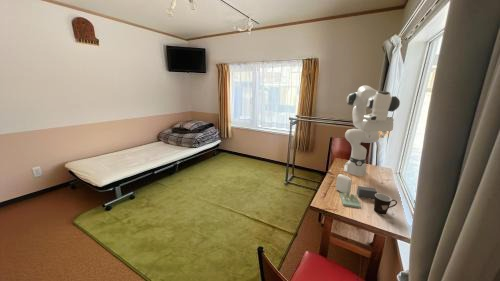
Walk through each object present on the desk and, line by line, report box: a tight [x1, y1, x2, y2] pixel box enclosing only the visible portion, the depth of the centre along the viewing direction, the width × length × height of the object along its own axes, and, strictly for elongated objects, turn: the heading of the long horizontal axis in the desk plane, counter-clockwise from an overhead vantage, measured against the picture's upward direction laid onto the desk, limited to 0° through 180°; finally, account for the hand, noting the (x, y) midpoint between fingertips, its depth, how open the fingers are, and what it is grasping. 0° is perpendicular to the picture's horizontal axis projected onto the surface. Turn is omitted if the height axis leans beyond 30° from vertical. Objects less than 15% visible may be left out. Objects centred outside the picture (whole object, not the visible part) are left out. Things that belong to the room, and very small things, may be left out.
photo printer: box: [335, 174, 353, 194], centre depth 140 cm, size 10×4×12 cm, turn 29°
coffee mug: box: [373, 192, 398, 216], centre depth 117 cm, size 12×9×10 cm
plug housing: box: [356, 185, 378, 200], centre depth 135 cm, size 5×11×6 cm, turn 74°
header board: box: [339, 192, 362, 209], centre depth 130 cm, size 14×10×5 cm
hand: (375, 137), depth 132 cm, fingers open, 8 cm apart
